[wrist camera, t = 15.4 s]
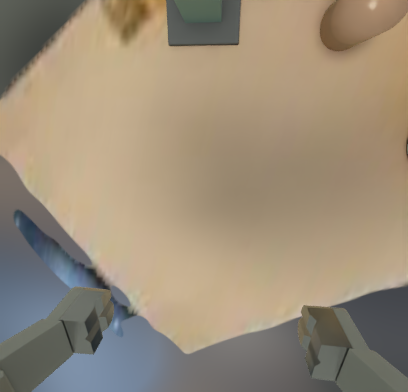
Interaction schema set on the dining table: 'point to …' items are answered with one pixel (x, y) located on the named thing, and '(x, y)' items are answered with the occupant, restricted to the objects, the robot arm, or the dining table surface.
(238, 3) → the mat
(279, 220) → the dining table surface
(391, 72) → the dining table surface
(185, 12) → the tall green rectangular block
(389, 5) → the tan rounded cylinder
